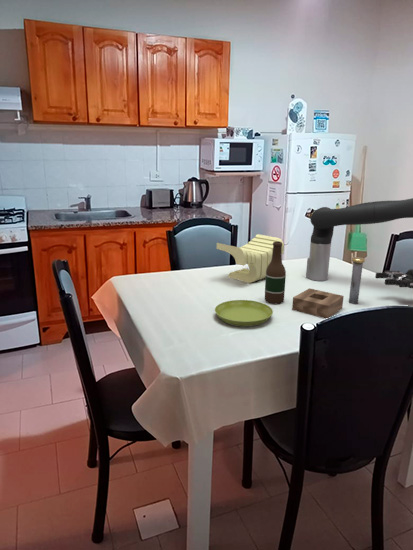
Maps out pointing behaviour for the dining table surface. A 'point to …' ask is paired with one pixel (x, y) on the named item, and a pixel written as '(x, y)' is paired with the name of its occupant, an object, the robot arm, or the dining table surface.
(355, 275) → the steel pin
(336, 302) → the block
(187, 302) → the dining table surface
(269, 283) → the beer bottle
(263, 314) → the saucer
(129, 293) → the dining table surface
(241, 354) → the dining table surface
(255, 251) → the slatted curved stool
